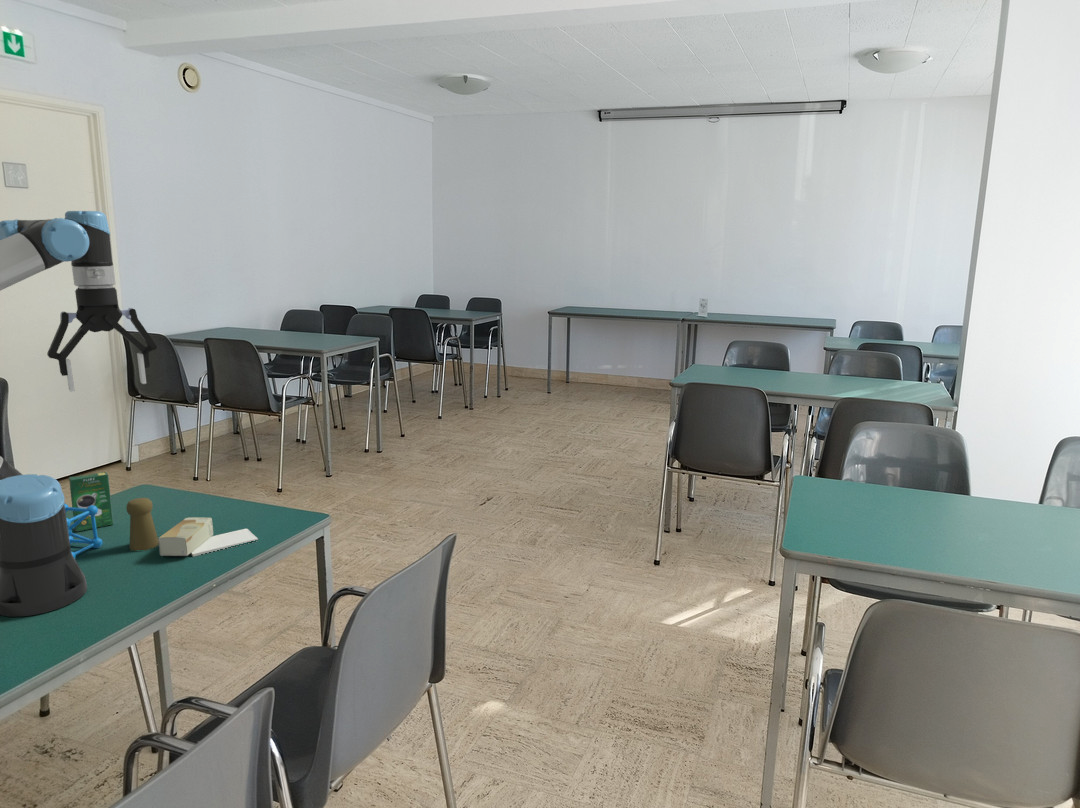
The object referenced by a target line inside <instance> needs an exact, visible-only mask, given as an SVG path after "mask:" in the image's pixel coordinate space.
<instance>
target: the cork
mask: <svg viewBox="0 0 1080 808" xmlns="http://www.w3.org/2000/svg"><path fill="white" fill-rule="evenodd" d="M153 508H154V507H153V501H152V500H151V499H150V498H149V497H148V498H147V497H138V498H133V499H131V500H129V501H128V502H127V504H126V508H125V509H126V512H127V514H128V515H129V517H130V518H129V523H130V524H129V550H130V549H131V550H130V551H133V550H134V551H133V552H138V551H137V550H144V551H148V549H149V550H152V549H154V547H155V548H157V547H158V546H159V539H158V538H159V537H158V534H157V530H156V529H157V528H156V526H155V523H154V519H153V515H152V511H153ZM157 545H158V546H157ZM151 548H152V549H151Z"/></svg>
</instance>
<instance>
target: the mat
mask: <svg viewBox="0 0 1080 808" xmlns="http://www.w3.org/2000/svg"><path fill="white" fill-rule="evenodd" d="M255 540H258V541H259V538H258V537H257V536H256V535H255V534H253V533H252V531H250V529H248V528H243V529H238V530H237V529H236V530H233V531H230V532H226V533H220V534H216V535H212V536H211V537H210V538H208V539H207V540H206V541H205V542H203V543H202V544H201V545H200V546H199V547H197V548H196V549H195V550H194V551H192V552H191V553H190V554H189V555H191V556H192V557H193V558H194V557H198V556H202V555H201V554H203V555H206V554H205V553H207V554H210V553H209V552H211V553H214V552H213V551H215V552H218V551H217V550H219V551H221V550H220V549H223V550H226V549H225V548H227V549H229V548H228V547H231V546H235V545H239V544H243V543H247V542H251V541H255ZM231 548H232V547H231Z"/></svg>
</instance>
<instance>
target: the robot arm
mask: <svg viewBox="0 0 1080 808" xmlns="http://www.w3.org/2000/svg"><path fill="white" fill-rule="evenodd" d="M112 253H113V252H112V245H111V232H110V227H109V222H108V219H107V216H106V213H104V212H102V211H97V210H67V211H66V212H65V213H64V218H63V217H59V218H57V217H55V218H51V219H50V218H47V219H33V220H32V219H28V220H27V219H12V220H11V219H10V220H9V219H8V220H1V221H0V292H2V290H4V289H7V288H10V287H11V286H14V285H15V284H17V283H19V282H21V281H24V280H26V279H29V278H31V277H33V276H34V275H37V274H39V273H41V272H43V271H45V270H48V269H51V268H53V267H55V266H58V265H59V264H61V263H64V262H71V263H70V264H71V271H72V277H73V285H74V286H75V287H77V288H76V289H75V290H74V293H75V301H76V308H77V309H76V312H66V311H61V312H60V322H59V325H58V328H57V329H56V332H55V334H54V337H53V339H52V341H51V343H50V347H49V348H48V351H47V356H48V358H49V359H55V360H57V361H58V365H59V372H60V375H61V376H62V377H64V376H66V378H67V386H68V390H69V392H71V393H72V392H75V385H74V378H73V369H72V363H71V360H70V359H69V358H68V356H69V355H70V354H71V353H72V352H73V350H74V349H75V348H76V346H78V344H79V343H80V342H81V340H82V339H83V338H84V337H85V335H87V333H88V332H89V331H90V332H93V333H99V332H111V331H113V330H115V331H117V332H118V333H119V334H120V335H121V336H122V337H124V338H125V339H126V340H127V341H128V342H129V343H131V344H132V345H133V346H134V347H135V348H136V349H138V350H139V351H140V352H137V353H136V356H137V357H136V358H137V365H138V366H137V367H138V374H139V381H140V383H141V384H142V385H146V384H147V377H146V376H147V375H146V369H147V368H150V365H151V364H150V358H149V353H150V352H152V351H155V350H157V349H158V345H156V343H155V341H154V340H153V338H152V337H151V336H150V334H149V333H148V331H147V330H146V328H145V327H144V326H143V324H142V323H141V321H140V320H139V318H138V313H137V310H136V309H134V308H133V307H128V308H127V309H120V307H119V300H118V290H117V288H116V287H114V285H116V278H115V270H114V262H113V255H112ZM123 316H124V317H125V318H126V319H127V320H130V322H131V324H132V325H133V326H134V328H135V329H136V330H137V332H138V334H139V335H140V336H141V338H142V339H143V341H144V343H146V345H144V344H143V343H142V342H140V341H139V340H138V339H137V338H136V337H135V336H134V335H132V334H131V333H130V332H129V331H128V330H127V329H125V327H124V326H122V325H121V324H120V323H119V321H120V320H121V318H122V317H123ZM75 319H76V320H78V322H79V323H80V324H81V325H80V326H79V327H78V329H77V330H76V332H75V333H74V334H73V335H72V337H71V338H70V340H69V341H68V342H67V343H66V344H65V346H63V348H62V349H61V351H60V352H58V350H59V348H60V346H61V344H62V341H63V339H64V336H65V334H66V332H67V329H68V327H69V324H71V323H73V321H74V320H75ZM64 503H65V495H64V492H63V489H62V485H61V483H60V482H59V481H58V480H57V479H56V478H54V477H52V476H50V475H45V474H40V475H38V474H34V473H33V474H29V473H28V474H22V472H21V471H19V470H17V468H15V467H14V466H13V465H12V464H11V463H9V462H8V460H6V459H5V458H3V457H2V456H1V455H0V615H1V616H4V617H14V618H15V617H17V618H18V617H28V616H35V615H41V614H44V613H49V612H51V611H52V612H53V611H55V610H58V609H61V608H64V607H67V606H69V605H70V604H72V603H74V602H76V601H78V600H79V599H81V598H82V597H83V596H84V595H85V594H86V592H87V591H88V584H87V578H86V576H85V574H84V572H83V570H82V569H81V567H80V566H79V564H78V561H77V560H76V558H75V559H74V557H73V555H72V553H71V551H72V548H71V545H70V540H69V533H68V526H67V519H66V518H67V514H66V513H67V512H66V513H65V506H64Z"/></svg>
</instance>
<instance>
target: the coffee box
mask: <svg viewBox="0 0 1080 808" xmlns="http://www.w3.org/2000/svg"><path fill="white" fill-rule="evenodd" d="M109 480H110V479H109V474H108V473H107V472H106V471H102V472H101V471H100V472H97V473H90V474H84V475H83V474H82V475H77V476H69V479H68V481H69V490H70V497H71V507H73V508H86V509H87V507H89V506H91V505H94V506H96V507H97V508H98V513H97V514H96V515H95V522H96V529H97V528H104V526H105V527H108V526H112V525H114V517H113V510H112V509H113V507H112V498H111V497H112V496H111V490H110V489H111V487H110V481H109ZM82 513H84V512H82V511H72V516H73V517H75V516H77V515H79V514H82ZM73 517H72V518H73ZM79 519H80V518H79ZM79 519H76V520H74V521H73V524H74V523H75V522H76V521H77V520H79ZM74 529H76V530H75V532H76V531H77V533H78V532H83V531H84V530H85V531H88V530H93V528H92V520H91V516H88V517H86V518H85V519H84V520H83V521H81V522H80V523H79V524H78V525H77V526H75V527H74ZM85 531H84V532H85Z"/></svg>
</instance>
